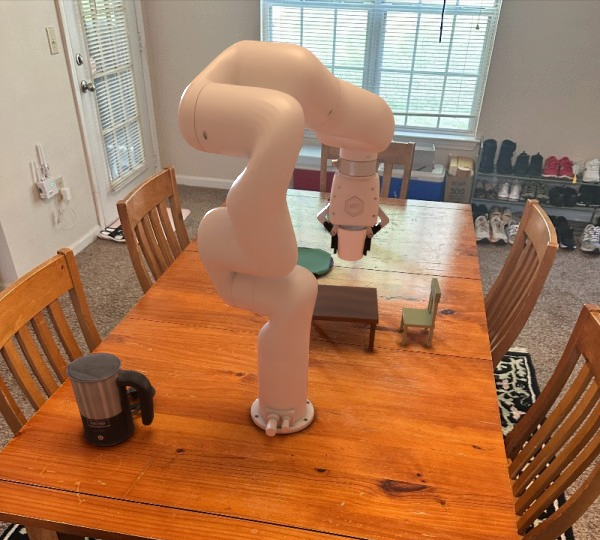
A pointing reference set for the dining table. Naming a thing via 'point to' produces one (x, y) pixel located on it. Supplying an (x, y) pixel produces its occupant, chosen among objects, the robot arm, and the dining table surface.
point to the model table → (348, 306)
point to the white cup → (351, 242)
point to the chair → (422, 314)
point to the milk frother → (109, 397)
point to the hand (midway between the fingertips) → (350, 251)
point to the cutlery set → (314, 260)
